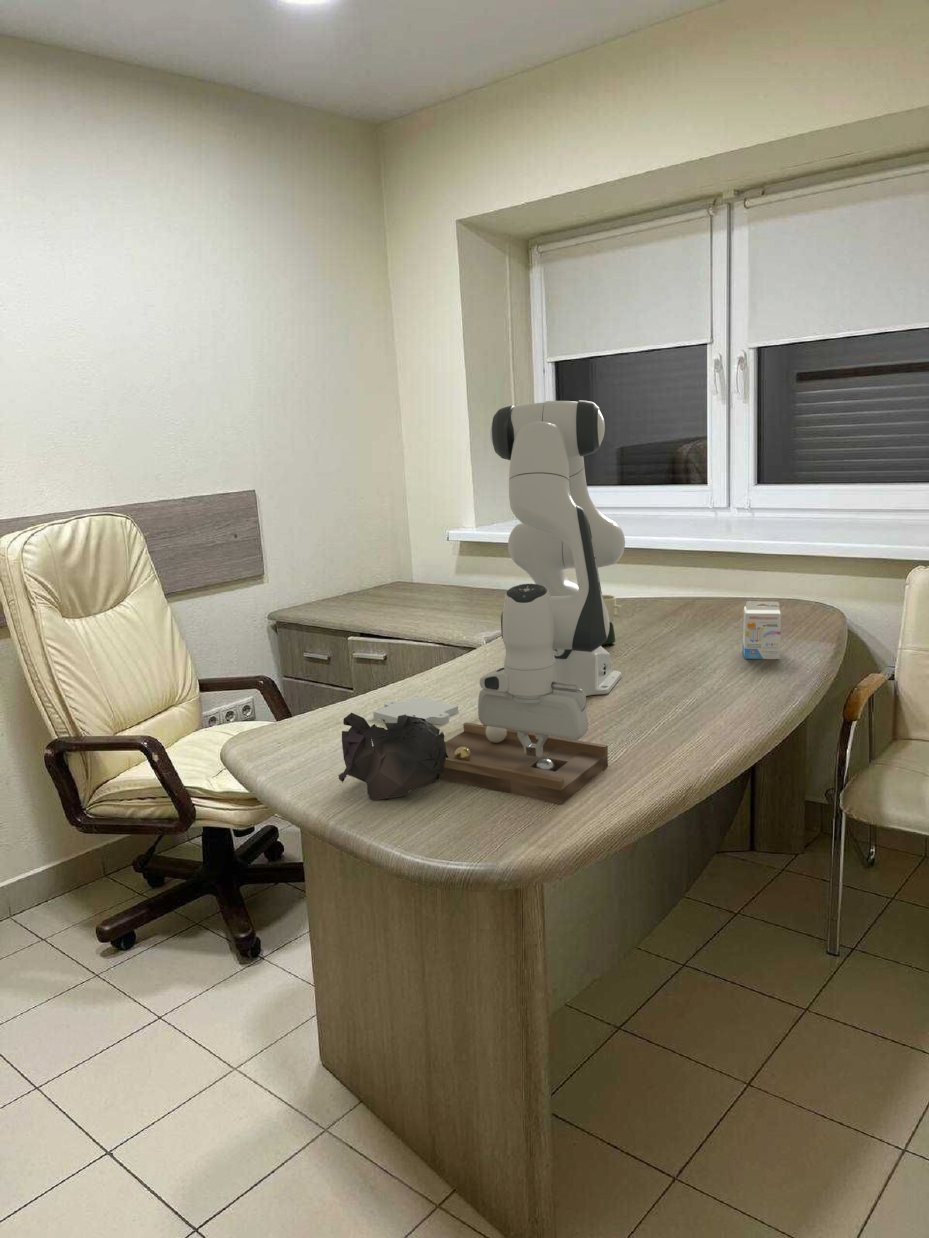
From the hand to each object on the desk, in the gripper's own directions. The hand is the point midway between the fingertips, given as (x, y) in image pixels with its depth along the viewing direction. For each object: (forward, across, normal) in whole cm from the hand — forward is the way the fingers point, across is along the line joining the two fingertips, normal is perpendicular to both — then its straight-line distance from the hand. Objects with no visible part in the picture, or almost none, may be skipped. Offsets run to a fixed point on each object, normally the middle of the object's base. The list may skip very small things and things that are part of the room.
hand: (533, 755), depth 160 cm
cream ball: (-1, +11, -6) cm, 12 cm away
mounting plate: (+4, +39, -18) cm, 43 cm away
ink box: (+4, -14, -92) cm, 93 cm away
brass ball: (0, +11, +6) cm, 13 cm away
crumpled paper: (+4, +17, +17) cm, 24 cm away
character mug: (+4, +27, -88) cm, 92 cm away
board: (+4, +5, 0) cm, 6 cm away
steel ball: (+2, -2, 0) cm, 3 cm away
